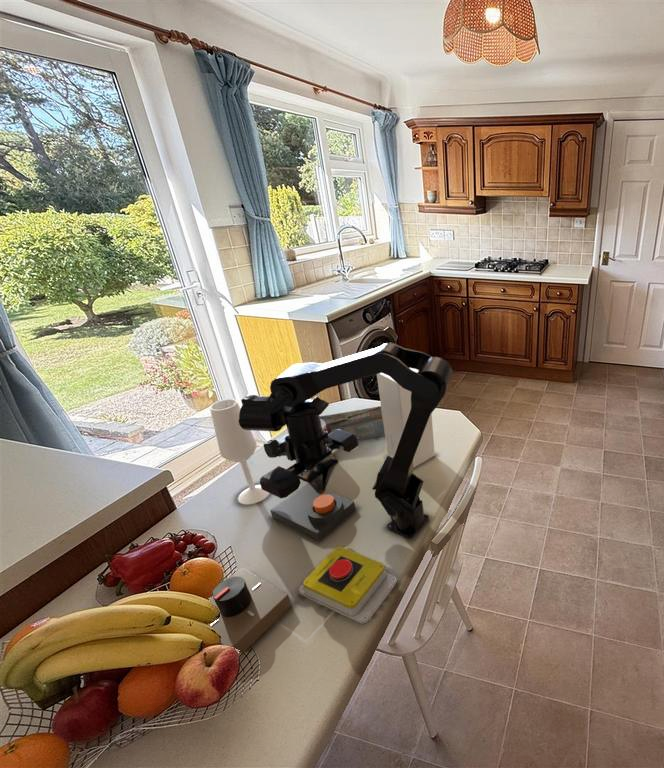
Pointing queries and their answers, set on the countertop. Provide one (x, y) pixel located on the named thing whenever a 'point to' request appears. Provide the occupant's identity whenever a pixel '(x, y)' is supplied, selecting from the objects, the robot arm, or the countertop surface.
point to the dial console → (252, 613)
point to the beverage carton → (357, 423)
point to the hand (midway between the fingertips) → (320, 492)
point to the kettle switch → (324, 504)
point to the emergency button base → (311, 512)
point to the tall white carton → (401, 418)
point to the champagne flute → (236, 444)
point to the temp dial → (232, 596)
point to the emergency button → (349, 584)
